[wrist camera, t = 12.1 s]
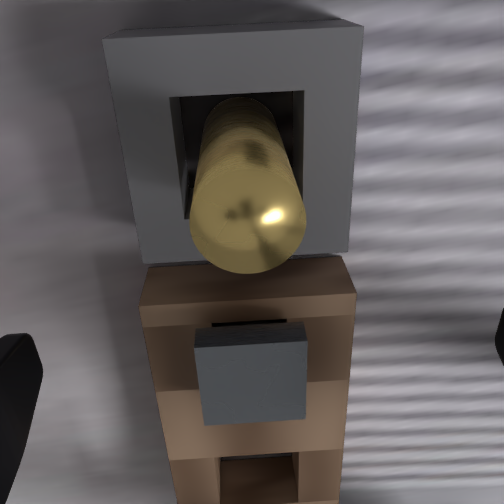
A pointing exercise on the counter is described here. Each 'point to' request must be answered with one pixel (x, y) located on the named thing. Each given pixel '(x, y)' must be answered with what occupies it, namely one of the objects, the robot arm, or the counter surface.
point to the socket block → (260, 433)
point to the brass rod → (245, 191)
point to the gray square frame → (235, 82)
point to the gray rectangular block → (252, 371)
